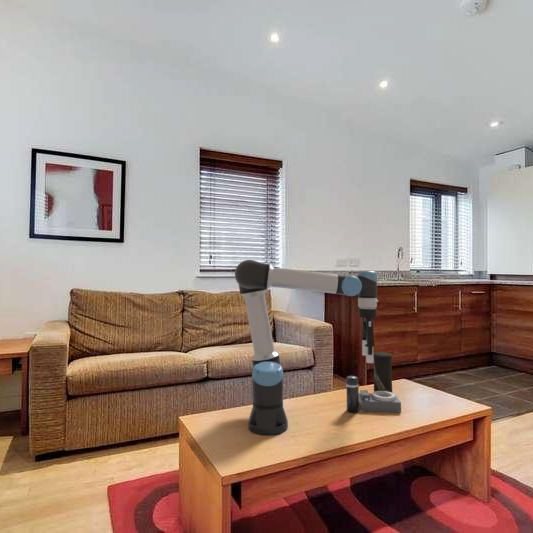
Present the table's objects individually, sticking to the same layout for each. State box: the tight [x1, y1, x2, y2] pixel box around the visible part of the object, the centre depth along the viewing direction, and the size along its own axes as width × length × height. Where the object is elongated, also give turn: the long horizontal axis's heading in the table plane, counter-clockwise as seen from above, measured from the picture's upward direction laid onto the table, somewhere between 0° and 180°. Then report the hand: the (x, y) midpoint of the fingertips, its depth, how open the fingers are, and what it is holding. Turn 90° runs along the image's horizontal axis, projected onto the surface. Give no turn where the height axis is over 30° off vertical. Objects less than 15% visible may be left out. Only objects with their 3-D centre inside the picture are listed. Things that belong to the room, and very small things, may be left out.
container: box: [373, 351, 393, 393], centre depth 180 cm, size 9×9×20 cm
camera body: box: [359, 389, 402, 413], centre depth 164 cm, size 16×11×6 cm
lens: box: [345, 375, 360, 414], centre depth 159 cm, size 5×5×14 cm
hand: (367, 359), depth 156 cm, fingers open, 13 cm apart
